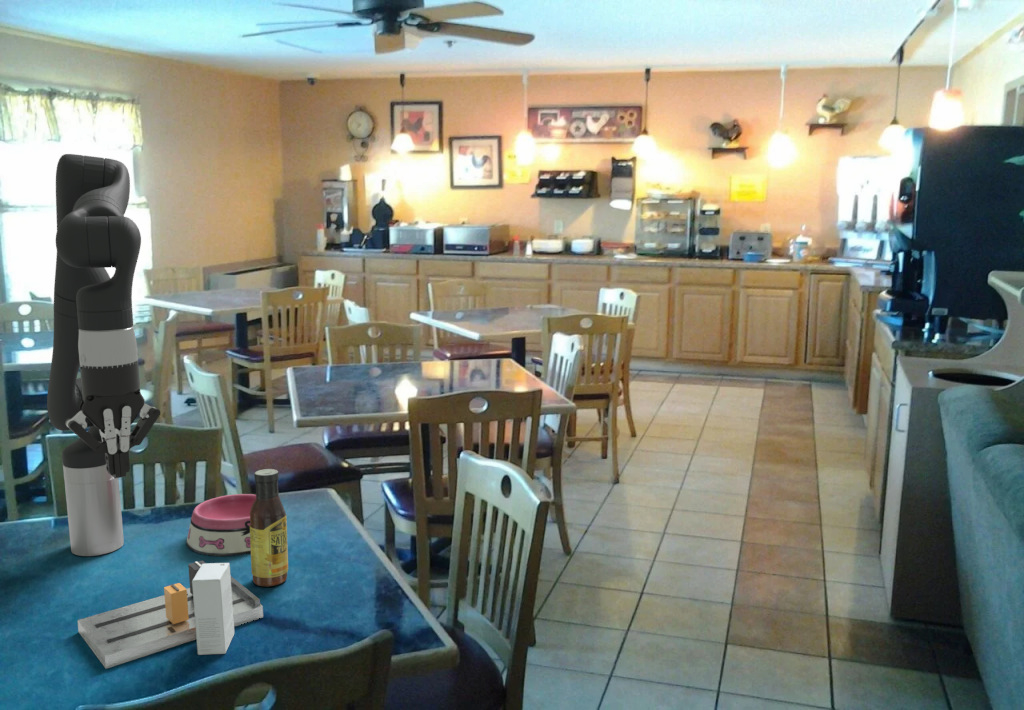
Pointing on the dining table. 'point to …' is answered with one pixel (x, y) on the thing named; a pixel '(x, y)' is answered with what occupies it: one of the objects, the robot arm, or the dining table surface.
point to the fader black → (194, 572)
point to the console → (153, 626)
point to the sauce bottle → (268, 531)
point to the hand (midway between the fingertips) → (118, 476)
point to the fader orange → (176, 603)
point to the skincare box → (213, 608)
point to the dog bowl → (221, 526)
